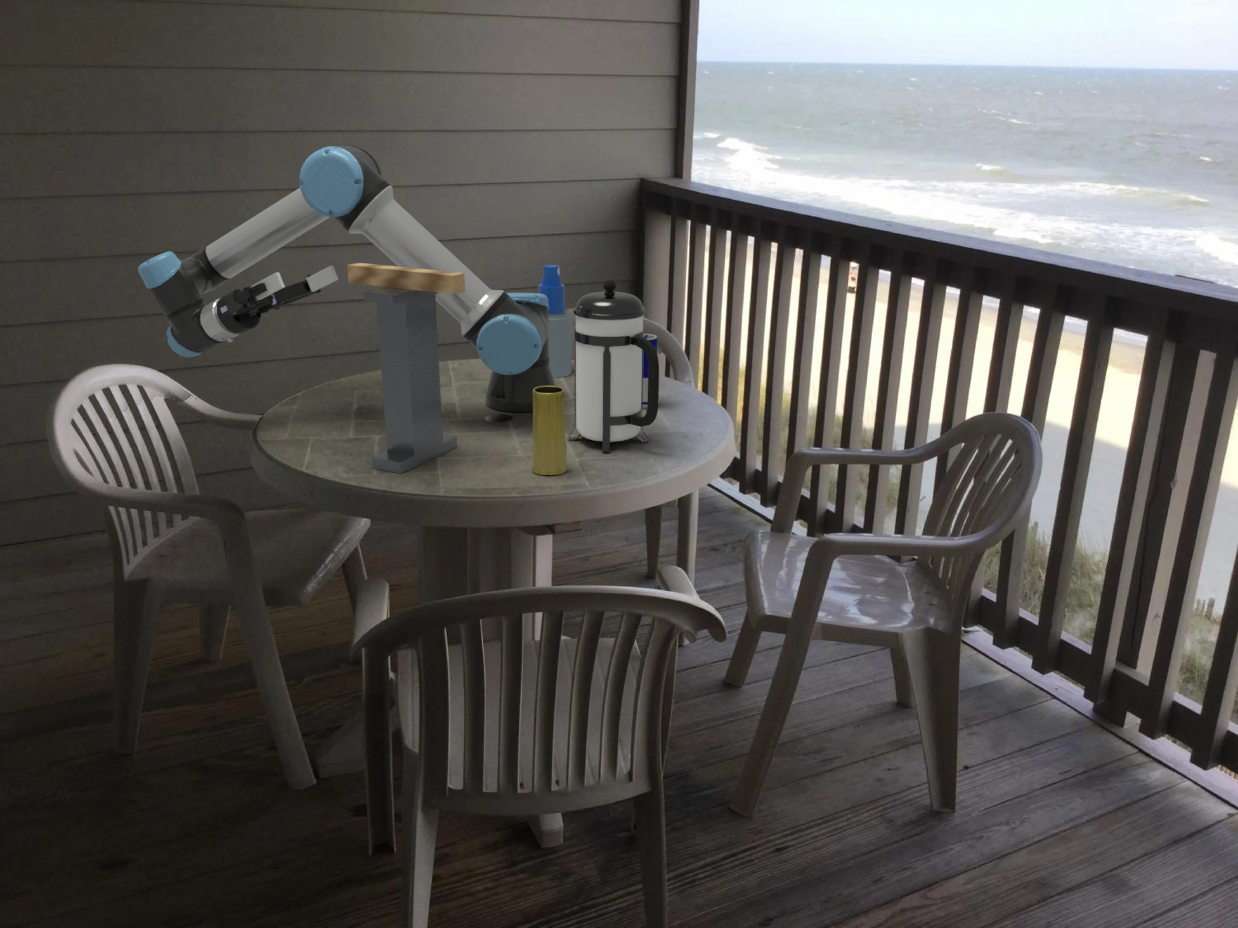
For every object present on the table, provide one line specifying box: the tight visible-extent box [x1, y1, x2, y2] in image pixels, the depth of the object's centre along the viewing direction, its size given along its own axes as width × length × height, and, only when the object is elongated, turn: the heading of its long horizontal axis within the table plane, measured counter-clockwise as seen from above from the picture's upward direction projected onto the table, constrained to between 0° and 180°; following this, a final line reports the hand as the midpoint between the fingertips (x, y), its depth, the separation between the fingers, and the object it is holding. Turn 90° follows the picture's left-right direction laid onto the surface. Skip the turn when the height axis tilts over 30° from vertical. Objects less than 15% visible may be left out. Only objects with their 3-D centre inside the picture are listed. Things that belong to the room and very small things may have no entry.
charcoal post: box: [362, 286, 458, 474], centre depth 170 cm, size 6×16×30 cm, turn 152°
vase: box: [531, 385, 568, 477], centre depth 167 cm, size 6×6×14 cm
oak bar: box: [346, 262, 465, 294], centre depth 165 cm, size 22×3×3 cm, turn 63°
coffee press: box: [568, 278, 660, 454], centre depth 180 cm, size 17×16×30 cm
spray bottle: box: [537, 264, 572, 379], centre depth 228 cm, size 9×9×25 cm
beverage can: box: [641, 333, 658, 410], centre depth 205 cm, size 5×5×15 cm
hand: (308, 276), depth 176 cm, fingers open, 13 cm apart
